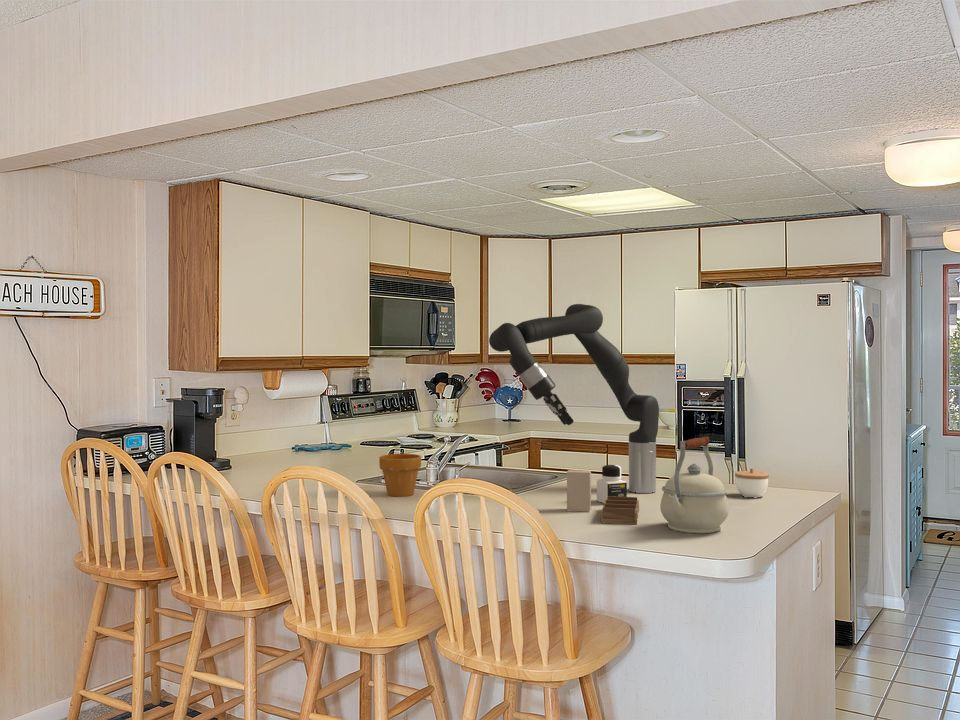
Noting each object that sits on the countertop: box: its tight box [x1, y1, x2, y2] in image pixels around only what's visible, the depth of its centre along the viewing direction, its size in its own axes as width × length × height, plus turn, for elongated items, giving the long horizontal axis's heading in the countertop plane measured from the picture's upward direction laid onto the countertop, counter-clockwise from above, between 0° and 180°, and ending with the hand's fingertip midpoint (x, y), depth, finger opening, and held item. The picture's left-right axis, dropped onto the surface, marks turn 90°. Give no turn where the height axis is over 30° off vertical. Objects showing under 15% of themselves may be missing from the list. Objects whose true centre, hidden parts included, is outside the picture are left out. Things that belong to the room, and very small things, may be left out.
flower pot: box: [378, 453, 422, 498], centre depth 290 cm, size 14×14×13 cm
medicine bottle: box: [596, 464, 628, 504], centre depth 275 cm, size 7×7×12 cm
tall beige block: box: [566, 469, 592, 512], centre depth 262 cm, size 4×7×12 cm, turn 78°
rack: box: [600, 496, 640, 525], centre depth 253 cm, size 20×10×4 cm, turn 168°
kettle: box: [659, 436, 730, 534], centre depth 235 cm, size 25×18×25 cm
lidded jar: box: [734, 467, 769, 498], centre depth 286 cm, size 11×11×9 cm
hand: (569, 423), depth 259 cm, fingers open, 8 cm apart
